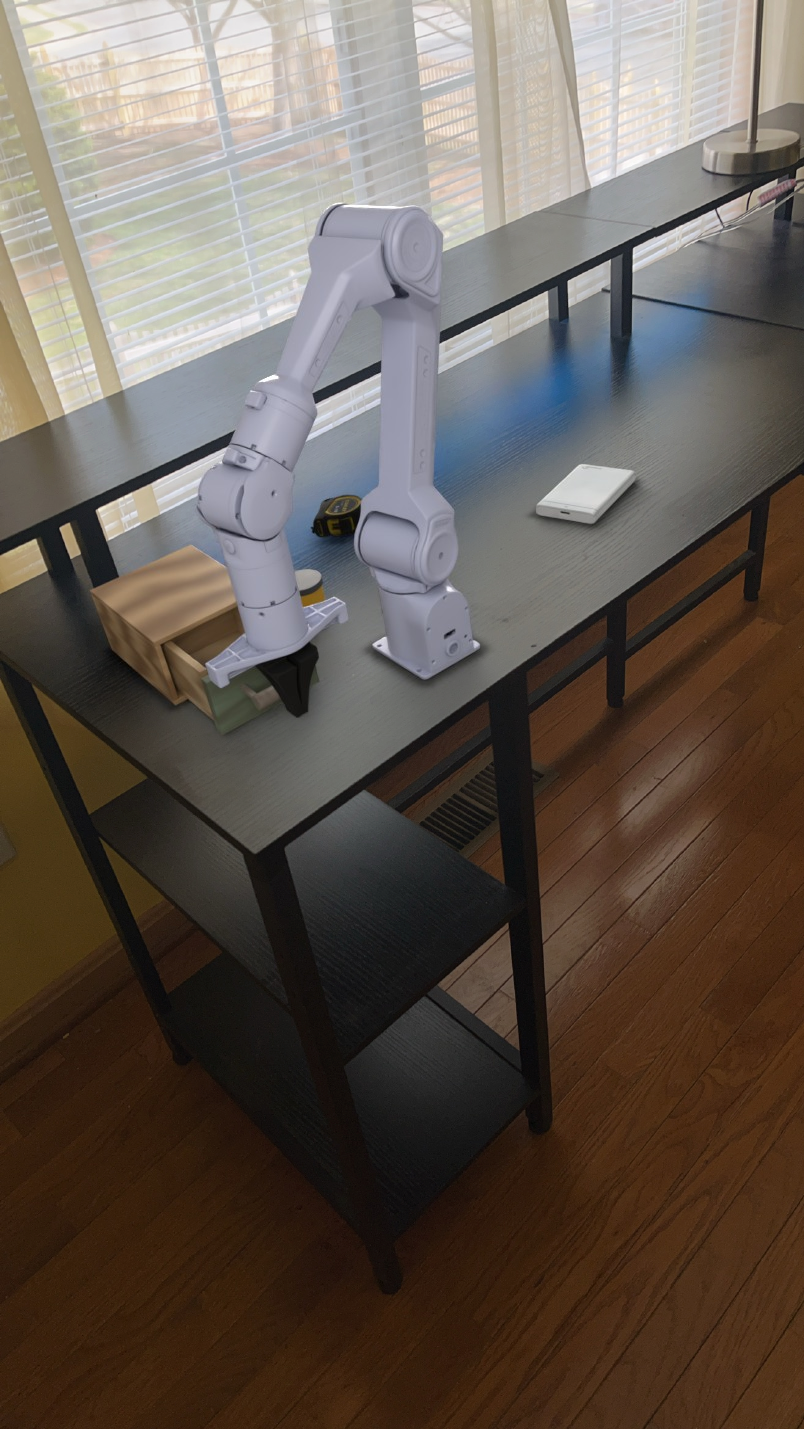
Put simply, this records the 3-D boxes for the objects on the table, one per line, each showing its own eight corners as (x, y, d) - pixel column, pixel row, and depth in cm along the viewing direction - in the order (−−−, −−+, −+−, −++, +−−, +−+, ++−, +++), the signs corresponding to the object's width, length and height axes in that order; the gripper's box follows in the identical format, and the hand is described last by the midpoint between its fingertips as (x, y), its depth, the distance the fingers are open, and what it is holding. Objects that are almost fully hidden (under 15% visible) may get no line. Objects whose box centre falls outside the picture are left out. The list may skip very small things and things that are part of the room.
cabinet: (277, 651, 116) (261, 589, 111) (175, 705, 111) (153, 642, 106) (208, 603, 127) (190, 544, 122) (111, 650, 122) (89, 590, 117)
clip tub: (303, 634, 118) (294, 595, 115) (280, 619, 122) (271, 581, 118) (338, 616, 120) (329, 578, 117) (314, 602, 124) (306, 564, 120)
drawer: (342, 698, 106) (331, 645, 102) (244, 754, 101) (227, 700, 97) (246, 630, 119) (232, 581, 115) (154, 676, 114) (137, 627, 110)
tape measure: (326, 518, 141) (320, 493, 139) (374, 516, 139) (370, 491, 137) (313, 543, 136) (308, 518, 133) (364, 541, 134) (359, 515, 132)
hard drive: (578, 463, 140) (535, 503, 132) (635, 470, 136) (594, 512, 128) (579, 474, 141) (536, 515, 133) (635, 482, 137) (594, 524, 129)
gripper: (307, 546, 99) (333, 662, 107) (175, 610, 92) (213, 728, 101) (350, 569, 94) (374, 689, 102) (214, 638, 88) (251, 760, 96)
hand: (297, 710), depth 101 cm, fingers closed, pressing on drawer
